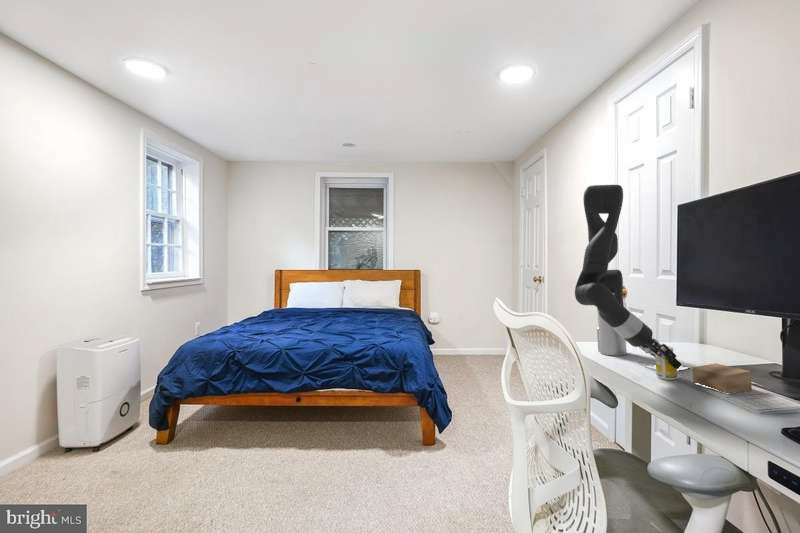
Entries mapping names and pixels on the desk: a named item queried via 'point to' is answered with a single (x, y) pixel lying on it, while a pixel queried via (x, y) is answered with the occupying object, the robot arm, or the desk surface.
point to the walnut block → (723, 378)
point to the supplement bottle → (665, 368)
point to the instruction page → (650, 367)
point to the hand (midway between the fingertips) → (671, 363)
